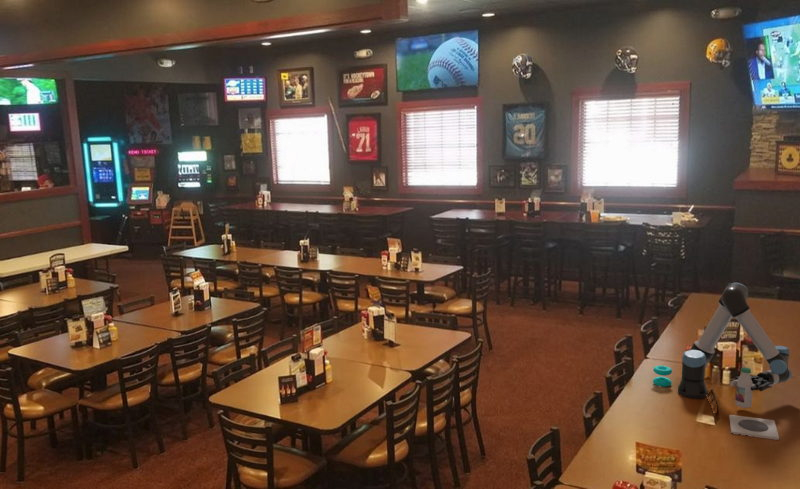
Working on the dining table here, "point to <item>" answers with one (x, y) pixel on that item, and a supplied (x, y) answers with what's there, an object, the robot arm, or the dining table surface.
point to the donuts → (663, 371)
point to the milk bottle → (741, 396)
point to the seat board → (753, 427)
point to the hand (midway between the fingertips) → (738, 386)
